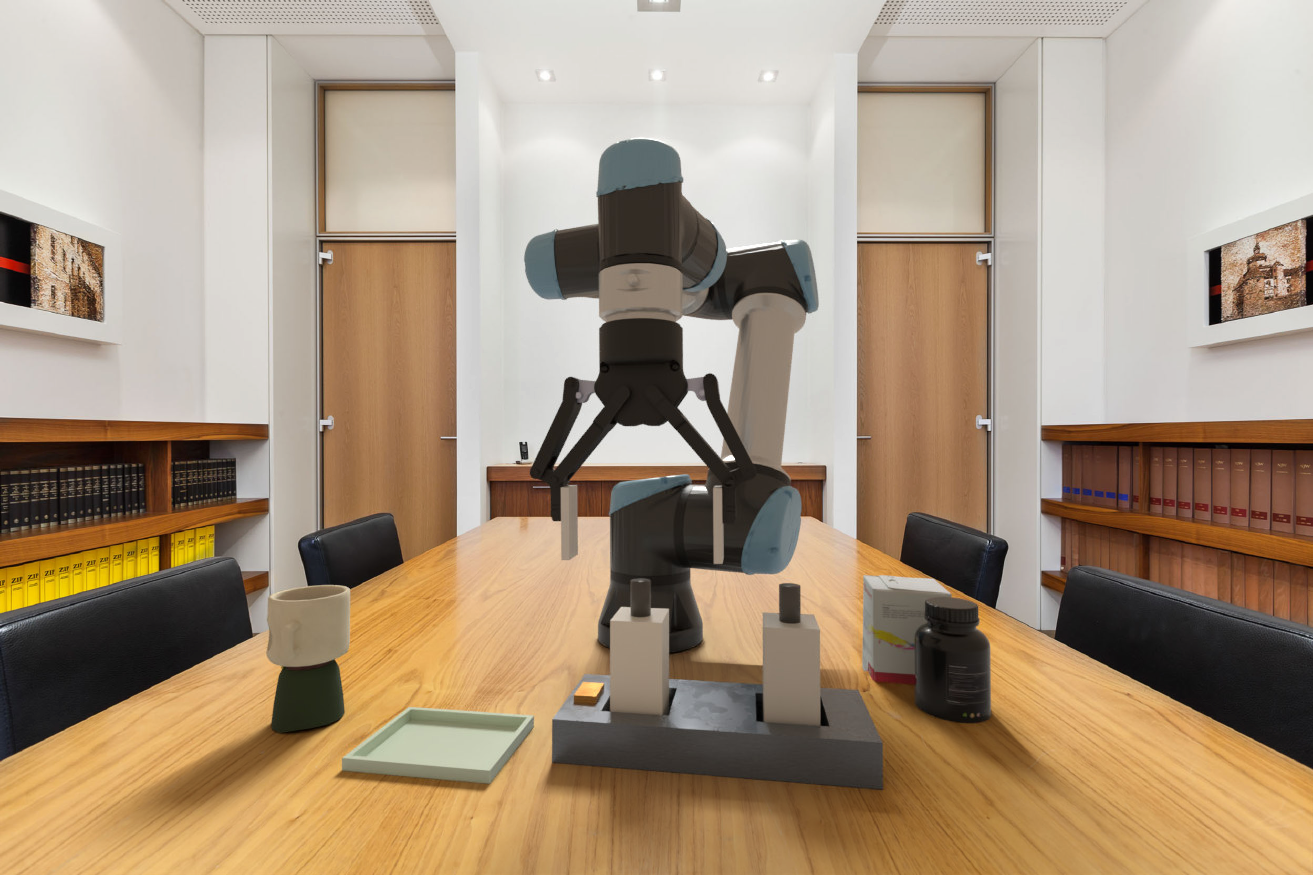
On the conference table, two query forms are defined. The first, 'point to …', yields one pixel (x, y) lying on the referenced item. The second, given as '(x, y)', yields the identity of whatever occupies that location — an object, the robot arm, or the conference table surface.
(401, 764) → the tray
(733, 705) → the power strip
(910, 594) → the ink box
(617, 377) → the robot arm
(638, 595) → the plug
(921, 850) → the conference table surface
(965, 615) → the supplement bottle
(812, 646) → the twin plug
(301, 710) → the character mug
